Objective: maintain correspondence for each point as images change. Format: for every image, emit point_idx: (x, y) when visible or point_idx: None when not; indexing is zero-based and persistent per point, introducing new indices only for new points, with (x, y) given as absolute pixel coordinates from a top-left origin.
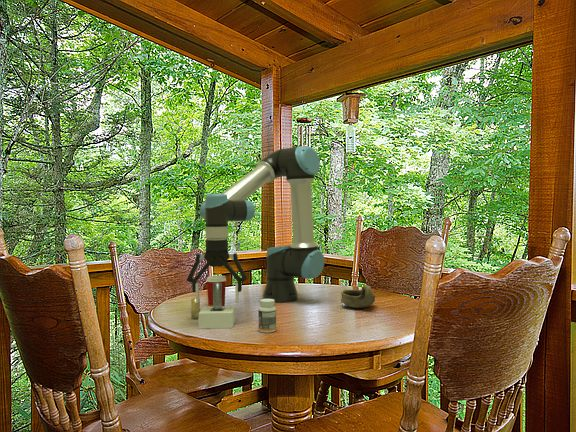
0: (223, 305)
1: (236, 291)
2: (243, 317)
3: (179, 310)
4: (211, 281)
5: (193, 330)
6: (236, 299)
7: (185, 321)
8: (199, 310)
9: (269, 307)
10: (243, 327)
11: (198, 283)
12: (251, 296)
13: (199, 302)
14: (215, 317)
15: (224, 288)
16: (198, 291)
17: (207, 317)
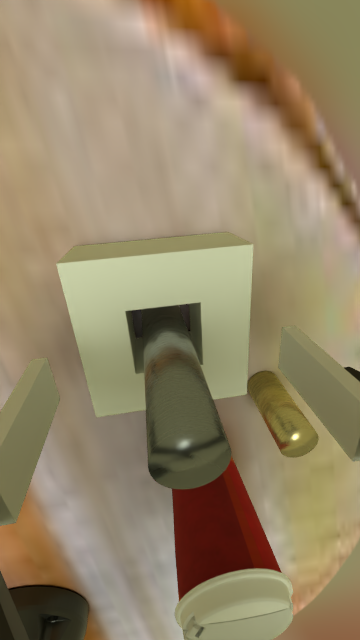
0: None
1: (13, 408)
2: (82, 415)
3: (323, 466)
4: (257, 572)
5: (246, 200)
6: (35, 368)
7: None
8: (259, 404)
9: None
10: (24, 263)
11: (355, 434)
12: (133, 616)
13: (273, 430)
14: (155, 248)
15: (178, 550)
16: (315, 386)
17: (198, 244)
